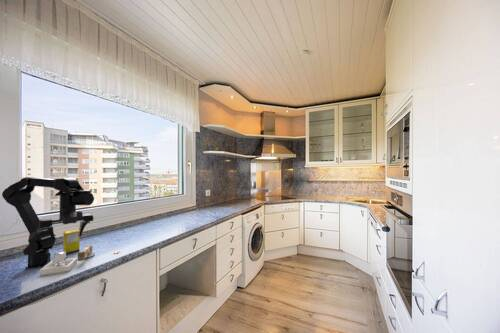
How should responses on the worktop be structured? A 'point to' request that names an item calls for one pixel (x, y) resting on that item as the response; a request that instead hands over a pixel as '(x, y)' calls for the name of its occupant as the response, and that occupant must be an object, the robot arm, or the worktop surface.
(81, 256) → the crank arm
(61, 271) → the tray
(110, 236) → the worktop surface
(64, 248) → the supplement box
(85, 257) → the crank base
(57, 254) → the stop plug
